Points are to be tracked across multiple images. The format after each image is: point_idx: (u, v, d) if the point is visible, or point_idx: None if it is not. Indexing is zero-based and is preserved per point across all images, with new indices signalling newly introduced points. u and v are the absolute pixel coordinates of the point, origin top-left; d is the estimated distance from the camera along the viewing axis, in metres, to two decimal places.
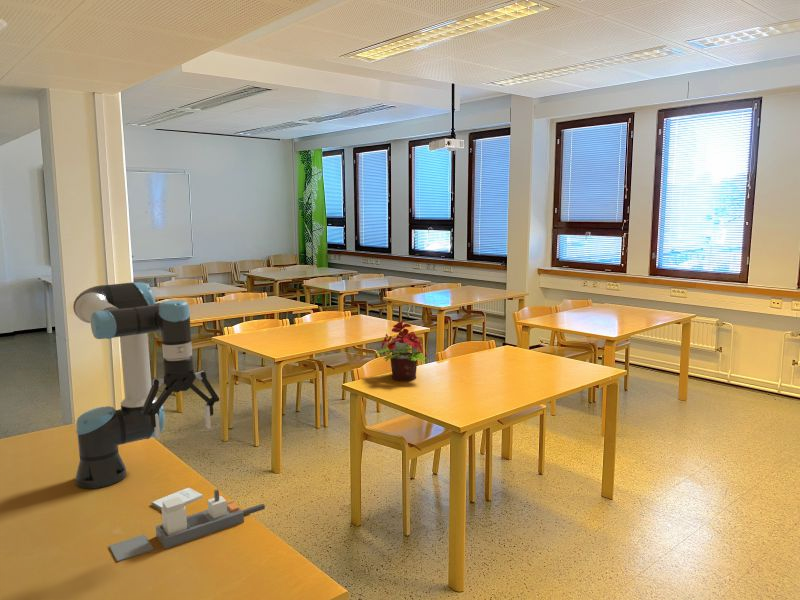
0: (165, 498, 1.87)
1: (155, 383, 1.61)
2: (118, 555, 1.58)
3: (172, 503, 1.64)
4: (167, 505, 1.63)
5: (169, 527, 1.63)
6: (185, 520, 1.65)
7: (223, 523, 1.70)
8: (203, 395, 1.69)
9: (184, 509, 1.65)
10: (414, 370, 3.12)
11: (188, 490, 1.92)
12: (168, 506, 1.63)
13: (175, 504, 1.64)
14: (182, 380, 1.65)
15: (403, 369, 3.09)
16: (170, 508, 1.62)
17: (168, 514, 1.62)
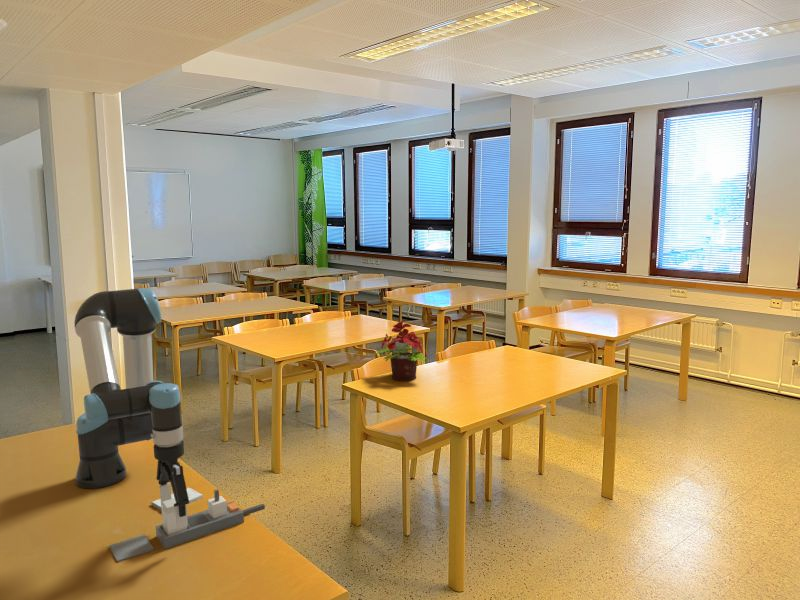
0: None
1: None
2: (118, 555, 1.58)
3: (172, 503, 1.64)
4: (167, 505, 1.63)
5: (169, 527, 1.63)
6: None
7: (223, 523, 1.70)
8: (173, 491, 1.59)
9: None
10: (414, 370, 3.12)
11: (188, 490, 1.92)
12: (168, 506, 1.63)
13: None
14: (166, 465, 1.62)
15: (403, 369, 3.09)
16: (170, 508, 1.62)
17: (168, 514, 1.62)
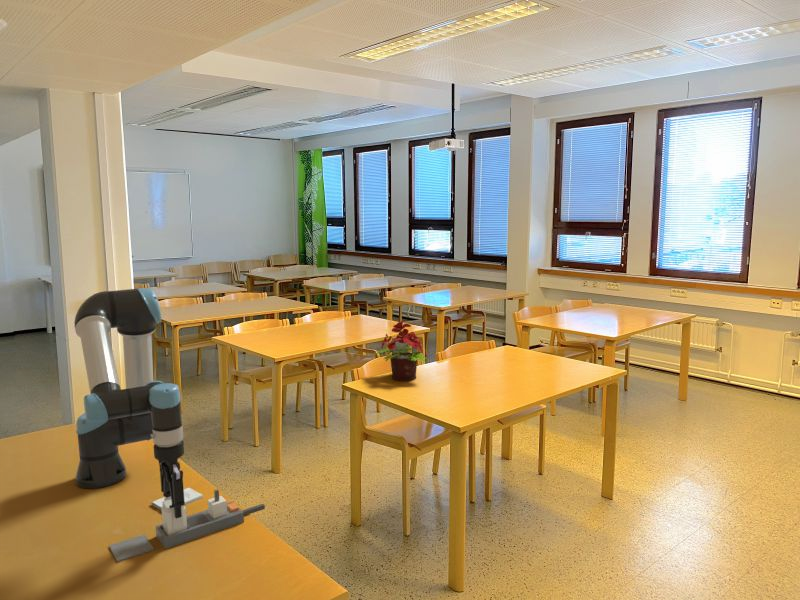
0: None
1: None
2: (118, 555, 1.58)
3: None
4: (167, 505, 1.63)
5: (169, 527, 1.63)
6: (185, 520, 1.65)
7: (223, 523, 1.70)
8: (171, 493, 1.61)
9: (184, 509, 1.65)
10: (414, 370, 3.12)
11: (188, 491, 1.91)
12: (168, 506, 1.63)
13: None
14: (166, 464, 1.62)
15: (403, 369, 3.09)
16: (170, 508, 1.62)
17: (168, 514, 1.62)
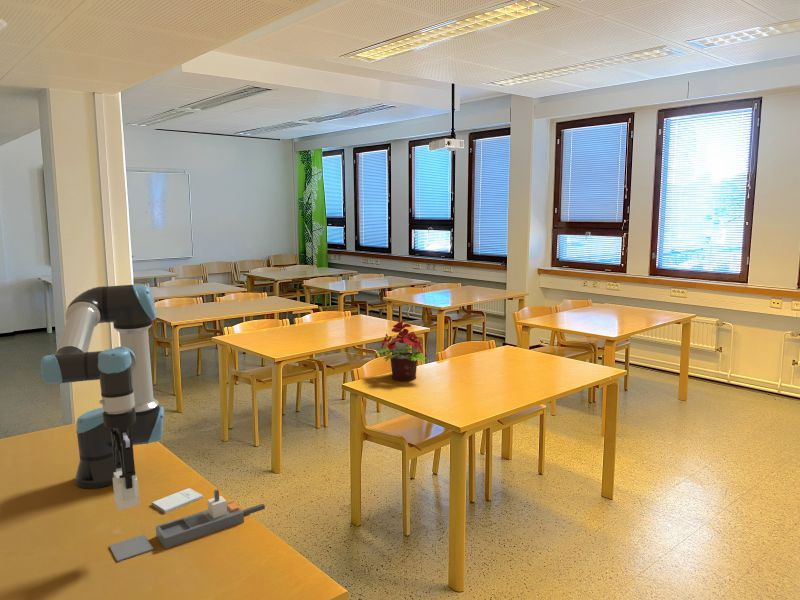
0: (165, 498, 1.87)
1: (110, 431, 1.61)
2: (118, 555, 1.58)
3: None
4: (118, 475, 1.56)
5: (120, 498, 1.56)
6: (137, 491, 1.58)
7: (223, 523, 1.70)
8: (121, 462, 1.54)
9: (136, 480, 1.58)
10: (414, 370, 3.12)
11: (188, 491, 1.91)
12: None
13: None
14: (116, 433, 1.55)
15: (403, 369, 3.09)
16: None
17: (118, 485, 1.55)
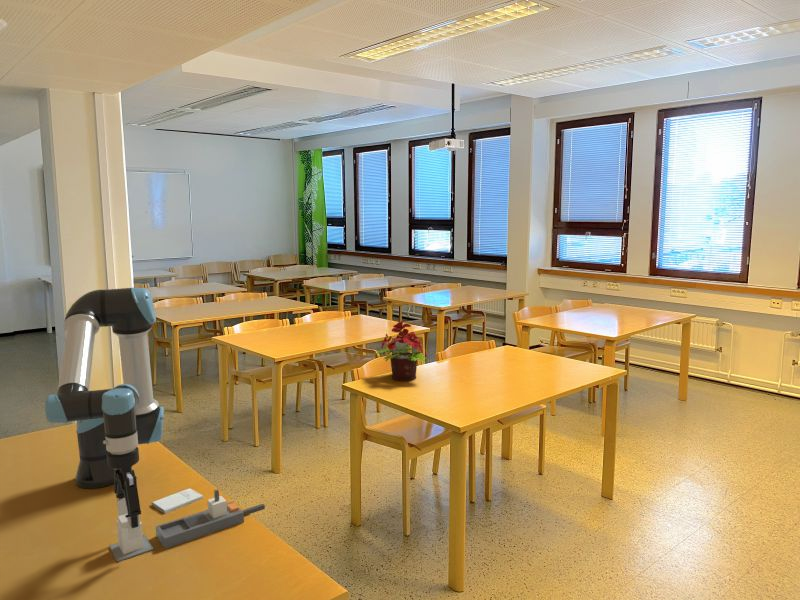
0: (165, 498, 1.86)
1: None
2: (118, 555, 1.58)
3: None
4: (122, 520, 1.58)
5: (124, 543, 1.58)
6: (141, 535, 1.60)
7: (223, 523, 1.70)
8: (126, 501, 1.55)
9: (140, 524, 1.60)
10: (414, 370, 3.12)
11: (189, 491, 1.91)
12: (123, 521, 1.58)
13: None
14: (120, 473, 1.57)
15: (403, 369, 3.09)
16: (125, 523, 1.58)
17: (123, 529, 1.57)
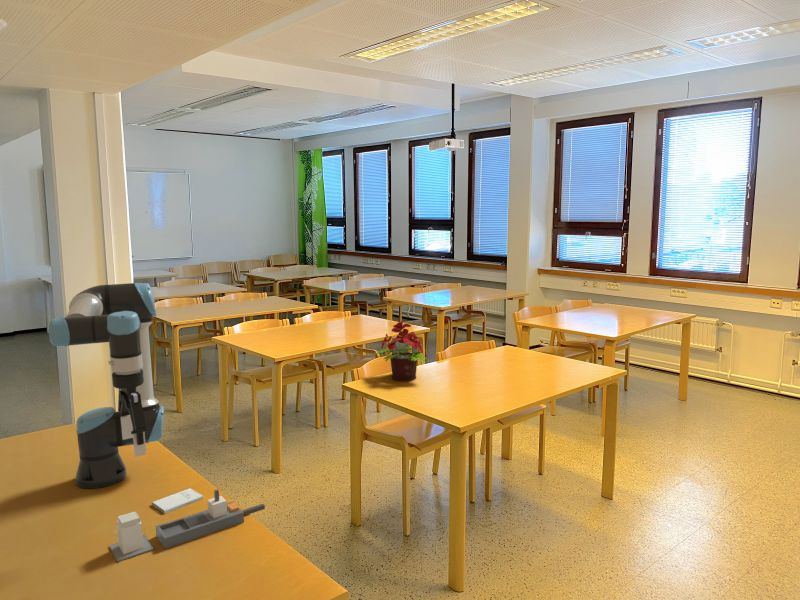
0: (165, 498, 1.86)
1: None
2: (118, 555, 1.58)
3: (127, 518, 1.60)
4: (122, 520, 1.58)
5: (124, 543, 1.58)
6: (141, 535, 1.60)
7: (223, 523, 1.70)
8: (131, 419, 1.57)
9: (140, 524, 1.60)
10: (414, 370, 3.12)
11: (189, 491, 1.91)
12: (123, 521, 1.58)
13: (131, 519, 1.59)
14: None
15: (403, 369, 3.09)
16: (125, 523, 1.58)
17: (123, 529, 1.57)
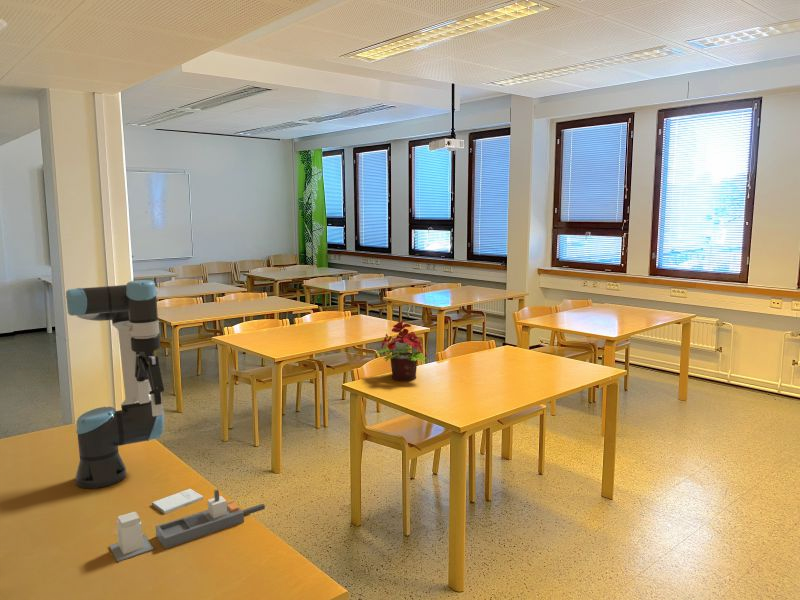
0: (165, 499, 1.86)
1: (135, 352, 1.75)
2: (118, 555, 1.58)
3: (127, 518, 1.60)
4: (122, 520, 1.58)
5: (124, 543, 1.58)
6: (141, 535, 1.60)
7: (223, 523, 1.70)
8: (149, 380, 1.66)
9: (140, 524, 1.60)
10: (414, 370, 3.12)
11: (189, 492, 1.91)
12: (123, 521, 1.58)
13: (131, 519, 1.59)
14: None
15: (403, 369, 3.09)
16: (125, 523, 1.58)
17: (123, 529, 1.57)
